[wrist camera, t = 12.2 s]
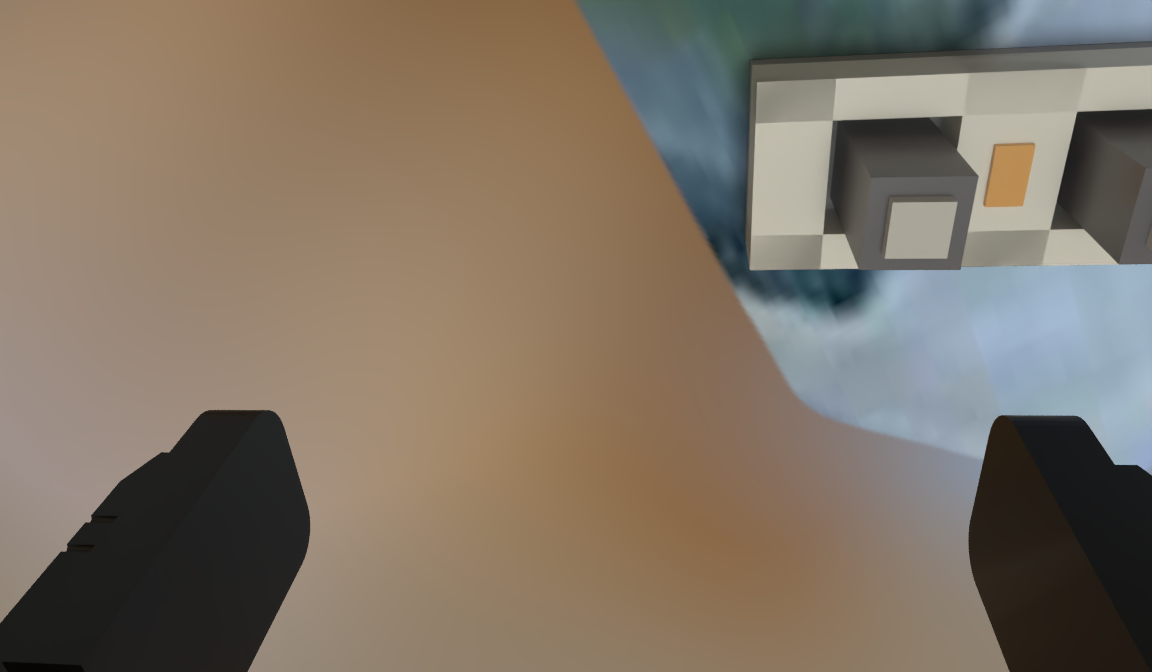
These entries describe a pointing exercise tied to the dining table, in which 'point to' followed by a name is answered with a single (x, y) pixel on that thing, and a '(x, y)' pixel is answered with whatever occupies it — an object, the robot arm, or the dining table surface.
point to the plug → (901, 194)
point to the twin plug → (1112, 181)
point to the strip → (966, 118)
